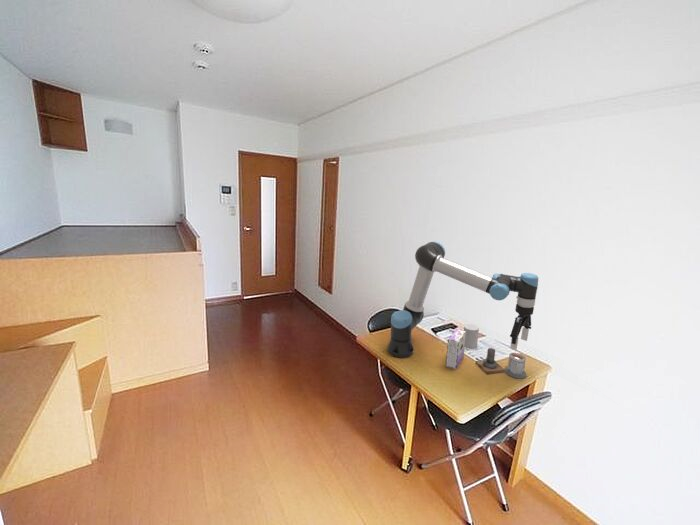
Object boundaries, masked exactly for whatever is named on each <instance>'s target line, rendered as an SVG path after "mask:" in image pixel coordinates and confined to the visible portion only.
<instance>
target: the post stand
mask: <svg viewBox="0 0 700 525" xmlns="http://www.w3.org/2000/svg"><path fill="white" fill-rule="evenodd" d="M495 357H496V349H495V348H492V347H489V348H487V352H486V358H484V359H481V360H476V361H475V365H476V366H477V367H478V368H479V369H480V370H482V371H483V373H484V374H486V375H491V374H492V375H493V374H498V373H499V374H500V373H505V367H504V368H503V366H501V365H500V364H499V363H498V361H496V360H495Z"/></svg>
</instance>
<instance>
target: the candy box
mask: <svg viewBox="0 0 700 525" xmlns="http://www.w3.org/2000/svg"><path fill="white" fill-rule="evenodd" d="M465 336H466V331H464V330H462V329H457V328H455V329H454V331H453V332H452V333H451V334H450V336H449V337H448V338H447V346H446V360H445V367H448V368H450V369H452V370H453V369H454V370H457V369H458V367H459V366H460V364H461V363H462V360H463V359H464V357H465V348H466V347H465Z"/></svg>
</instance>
